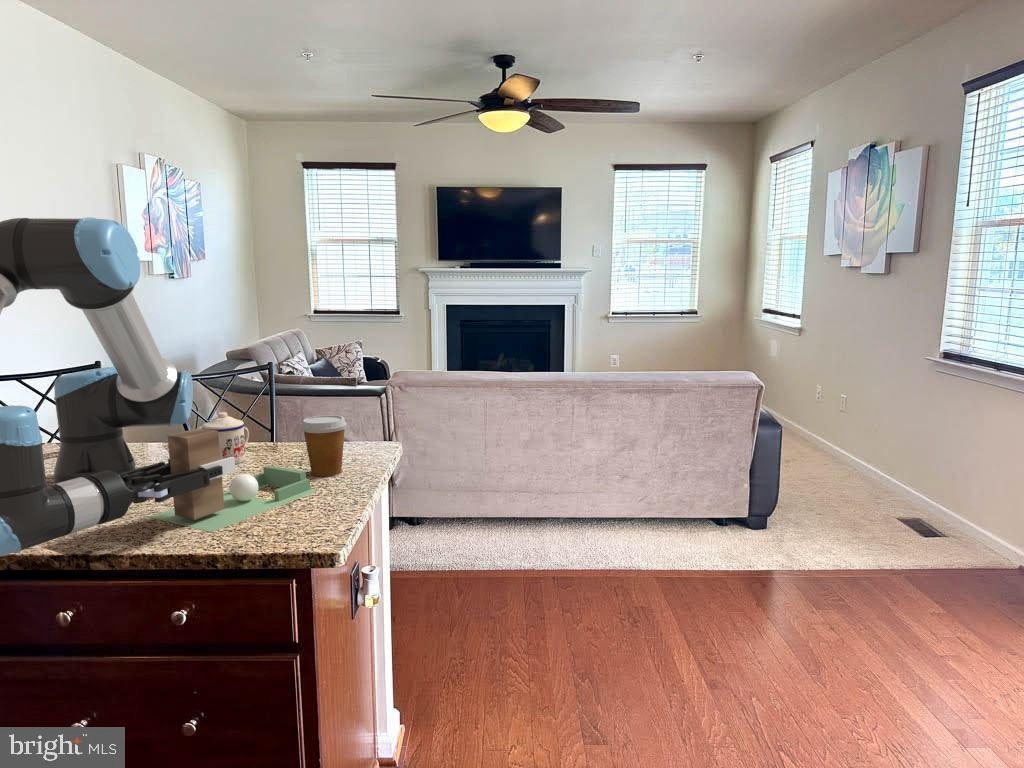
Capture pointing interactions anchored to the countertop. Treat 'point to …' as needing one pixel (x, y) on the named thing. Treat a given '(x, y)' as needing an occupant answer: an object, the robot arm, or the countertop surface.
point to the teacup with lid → (230, 436)
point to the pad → (237, 511)
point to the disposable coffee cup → (324, 443)
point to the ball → (243, 487)
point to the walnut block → (190, 454)
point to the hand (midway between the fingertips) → (222, 462)
